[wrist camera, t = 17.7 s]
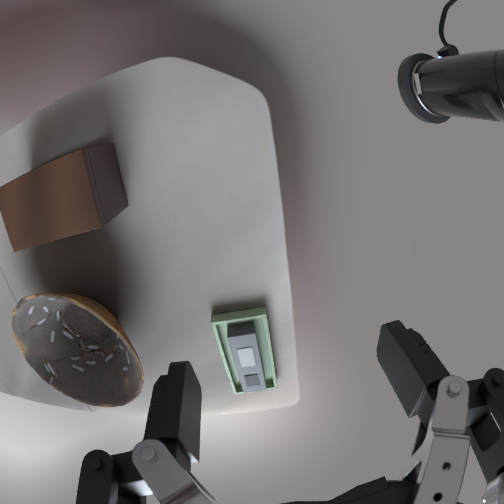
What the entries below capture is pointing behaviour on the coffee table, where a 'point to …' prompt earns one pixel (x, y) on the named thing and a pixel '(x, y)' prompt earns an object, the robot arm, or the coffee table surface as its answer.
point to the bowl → (78, 348)
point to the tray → (263, 336)
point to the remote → (246, 356)
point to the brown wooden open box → (63, 197)
